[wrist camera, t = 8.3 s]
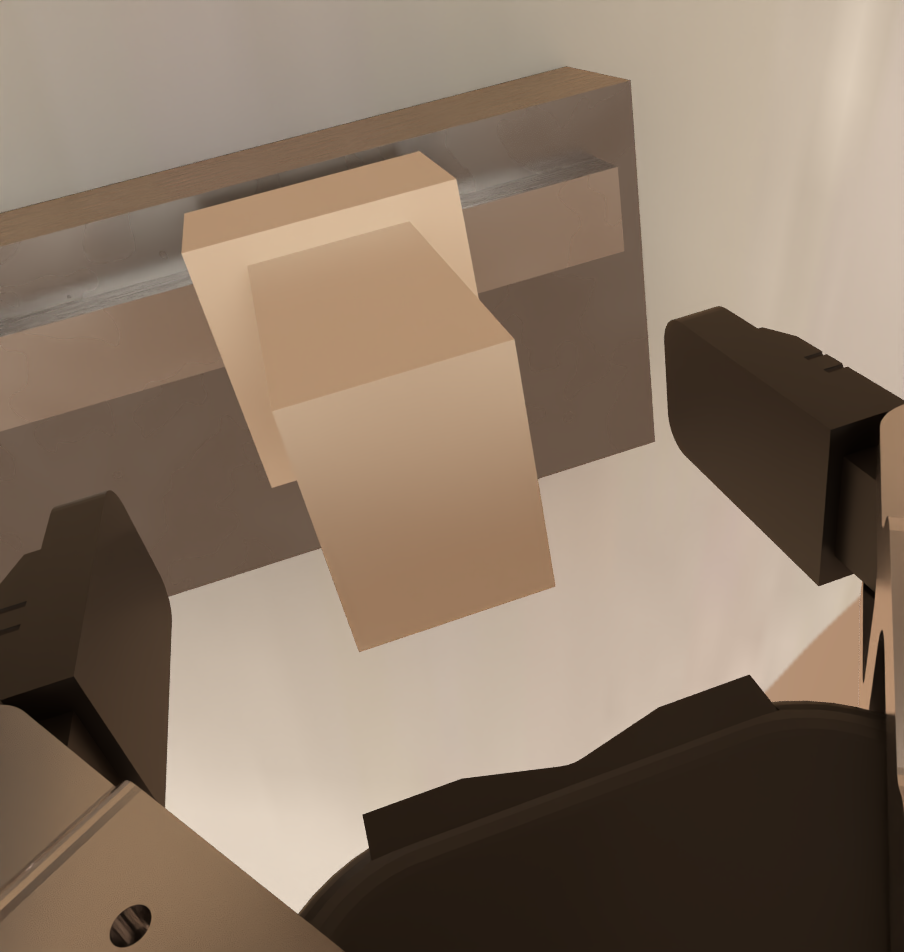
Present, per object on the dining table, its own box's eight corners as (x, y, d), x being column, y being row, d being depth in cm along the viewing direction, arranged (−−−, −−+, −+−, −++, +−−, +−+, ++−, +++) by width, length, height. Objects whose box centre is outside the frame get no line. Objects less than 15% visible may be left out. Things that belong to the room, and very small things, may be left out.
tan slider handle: (185, 202, 17) (171, 398, 9) (409, 143, 18) (588, 277, 10) (301, 517, 22) (362, 837, 14) (476, 462, 23) (637, 738, 14)
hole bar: (-547, 355, 19) (-1227, 689, 10) (566, 66, 22) (819, 121, 13) (-258, 657, 25) (-527, 1049, 16) (601, 392, 28) (795, 589, 19)
